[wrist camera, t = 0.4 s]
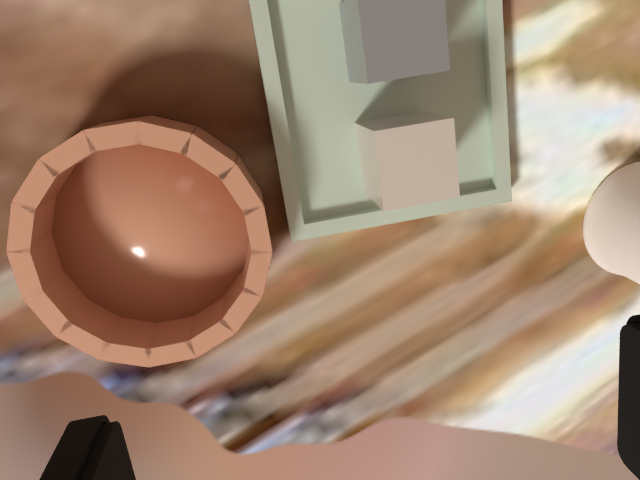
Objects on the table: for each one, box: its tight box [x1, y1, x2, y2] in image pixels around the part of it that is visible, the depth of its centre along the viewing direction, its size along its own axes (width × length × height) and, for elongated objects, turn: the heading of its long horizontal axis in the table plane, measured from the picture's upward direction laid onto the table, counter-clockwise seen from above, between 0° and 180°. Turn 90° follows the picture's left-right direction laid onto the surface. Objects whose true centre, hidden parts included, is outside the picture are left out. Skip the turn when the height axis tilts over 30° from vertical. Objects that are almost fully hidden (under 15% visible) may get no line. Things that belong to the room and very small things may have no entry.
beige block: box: [355, 111, 460, 211], centre depth 34 cm, size 4×4×6 cm
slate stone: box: [339, 0, 450, 84], centre depth 31 cm, size 4×4×6 cm
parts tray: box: [248, 0, 512, 242], centre depth 35 cm, size 16×15×1 cm
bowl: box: [6, 115, 273, 367], centre depth 34 cm, size 14×14×4 cm
